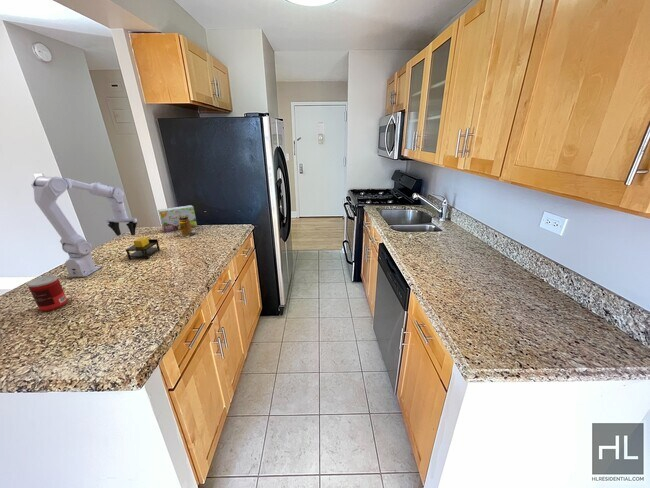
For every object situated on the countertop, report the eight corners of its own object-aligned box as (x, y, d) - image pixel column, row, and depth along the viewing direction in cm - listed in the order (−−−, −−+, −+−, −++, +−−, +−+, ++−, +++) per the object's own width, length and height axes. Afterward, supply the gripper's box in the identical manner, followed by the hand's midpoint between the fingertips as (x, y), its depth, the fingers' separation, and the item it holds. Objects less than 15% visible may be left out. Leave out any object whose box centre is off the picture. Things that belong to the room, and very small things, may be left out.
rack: (148, 259, 136) (144, 247, 133) (128, 259, 135) (124, 247, 133) (160, 250, 147) (157, 239, 145) (142, 250, 147) (139, 239, 144)
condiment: (179, 235, 170) (175, 218, 165) (189, 231, 177) (185, 214, 173) (187, 237, 168) (183, 219, 163) (197, 232, 175) (194, 215, 170)
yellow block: (142, 247, 137) (141, 241, 135) (135, 247, 136) (133, 241, 135) (149, 243, 142) (147, 237, 141) (141, 243, 142) (140, 237, 141)
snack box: (164, 232, 175) (159, 211, 170) (162, 230, 179) (157, 209, 174) (197, 226, 189) (193, 206, 183) (194, 224, 192) (191, 204, 187)
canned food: (66, 297, 102) (55, 272, 98) (69, 304, 98) (58, 279, 94) (38, 306, 97) (25, 280, 93) (41, 314, 92) (28, 287, 88)
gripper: (138, 208, 139) (144, 232, 144) (110, 208, 138) (117, 233, 143) (129, 211, 132) (136, 236, 137) (100, 212, 132) (108, 237, 137)
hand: (126, 235), depth 140 cm, fingers open, 7 cm apart
